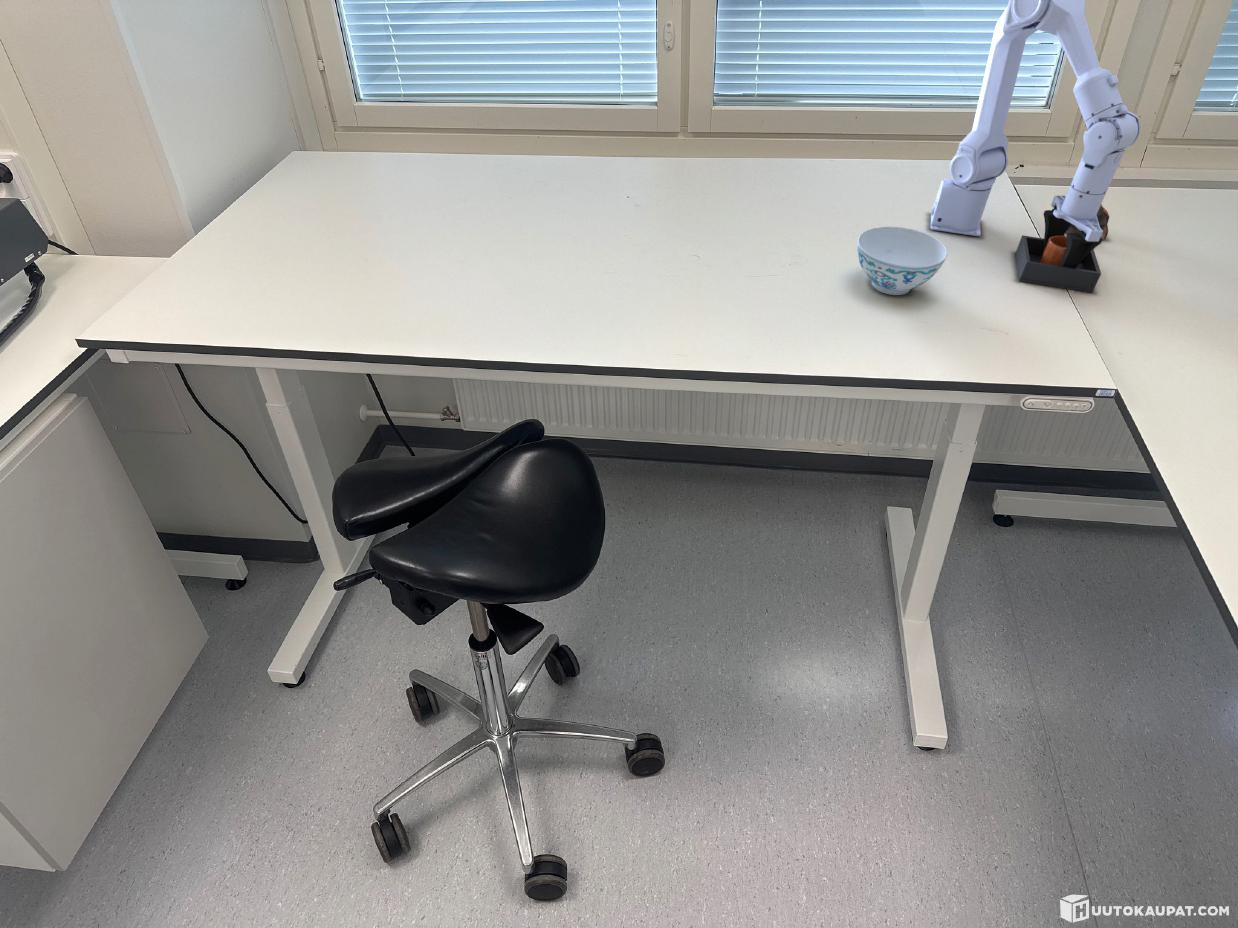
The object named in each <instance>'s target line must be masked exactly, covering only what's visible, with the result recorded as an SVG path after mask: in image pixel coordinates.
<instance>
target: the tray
mask: <svg viewBox="0 0 1238 928" xmlns="http://www.w3.org/2000/svg"><path fill="white" fill-rule="evenodd" d="M1043 243H1044V237H1043V238H1042V237H1036V236H1029V235H1021V238H1020V240H1019V243H1018V246H1017V247H1016V250H1015V253H1014V255H1015V262H1016V263H1015V264H1016V268H1017V275H1018V282H1021V283H1028V284H1034V285H1039V286H1046V287H1047V286H1048V287H1053V288H1059V289H1065V290H1072V291H1076V292H1077V291H1078V292H1085V293H1090V294H1093V293H1094V291H1095V288H1096V286H1097V284H1098V282H1099V280H1100V277H1101V276H1102V272H1101V268H1100V264H1099V262H1098V258H1097V256H1096V252H1095V248H1094V249H1093V250H1091V251H1090V252H1089V253H1088V254H1087V255H1086V256H1085V257H1084V258H1083V259H1082V261H1081V262H1080V263H1079V264H1078V266H1077V267H1076V268H1070V267H1064V266H1057V265H1051V264H1044V263H1039V262H1040V259H1041V257H1042V255H1043V252H1044V251H1043Z"/></svg>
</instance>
